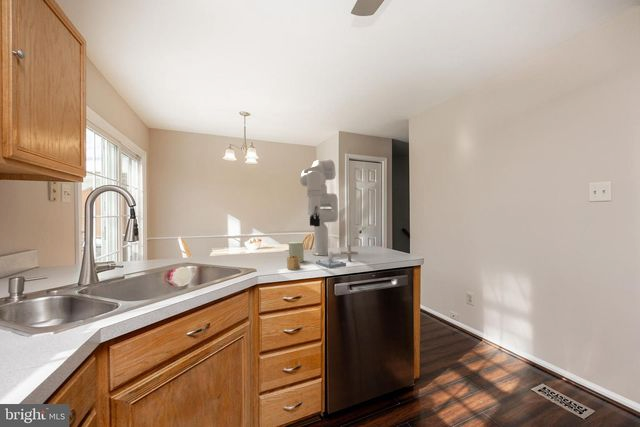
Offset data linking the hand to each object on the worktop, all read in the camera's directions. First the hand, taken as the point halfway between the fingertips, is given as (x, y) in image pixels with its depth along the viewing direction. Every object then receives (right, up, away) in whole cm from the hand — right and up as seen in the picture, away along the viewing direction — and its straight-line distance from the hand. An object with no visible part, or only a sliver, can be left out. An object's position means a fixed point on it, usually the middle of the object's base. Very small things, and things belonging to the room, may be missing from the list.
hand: (314, 226), depth 147 cm
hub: (-11, -23, -1) cm, 25 cm away
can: (-12, -23, +19) cm, 31 cm away
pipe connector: (+21, -22, +16) cm, 34 cm away
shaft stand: (+9, -22, +6) cm, 25 cm away
